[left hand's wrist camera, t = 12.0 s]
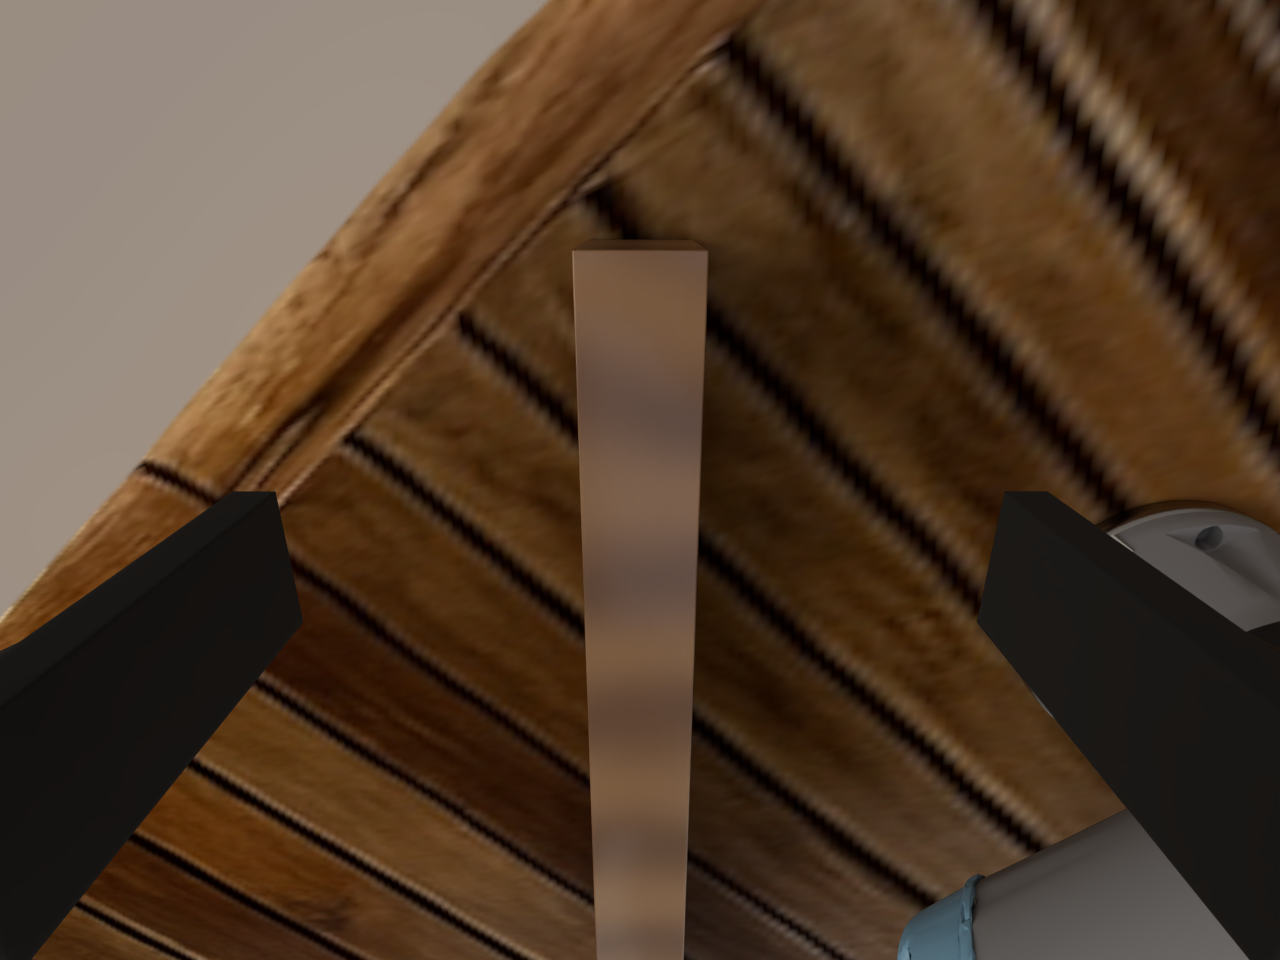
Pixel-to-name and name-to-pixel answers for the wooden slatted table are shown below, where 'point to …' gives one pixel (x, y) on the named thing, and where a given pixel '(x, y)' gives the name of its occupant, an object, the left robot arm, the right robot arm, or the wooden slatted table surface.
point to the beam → (640, 573)
